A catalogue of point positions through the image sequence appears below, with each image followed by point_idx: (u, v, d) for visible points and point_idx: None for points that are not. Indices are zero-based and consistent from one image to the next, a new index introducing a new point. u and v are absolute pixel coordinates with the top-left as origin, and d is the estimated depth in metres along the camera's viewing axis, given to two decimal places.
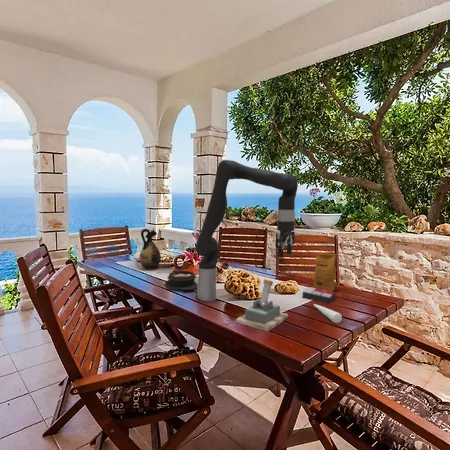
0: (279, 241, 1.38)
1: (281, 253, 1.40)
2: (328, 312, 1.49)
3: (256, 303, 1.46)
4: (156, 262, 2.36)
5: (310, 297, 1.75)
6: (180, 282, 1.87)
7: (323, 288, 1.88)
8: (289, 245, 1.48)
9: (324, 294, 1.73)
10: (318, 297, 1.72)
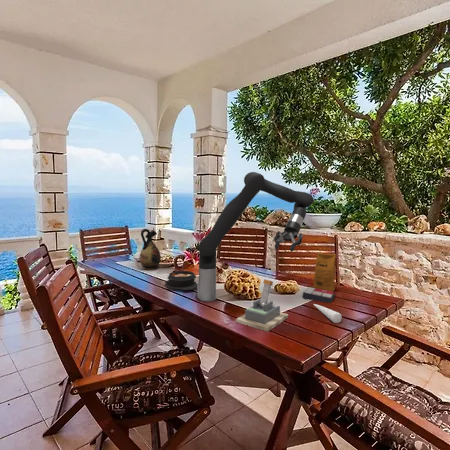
0: (301, 239, 1.62)
1: None
2: (328, 312, 1.49)
3: (256, 303, 1.46)
4: (156, 262, 2.36)
5: (311, 297, 1.74)
6: (180, 282, 1.87)
7: (323, 288, 1.88)
8: (279, 242, 1.67)
9: (324, 294, 1.73)
10: (319, 297, 1.72)
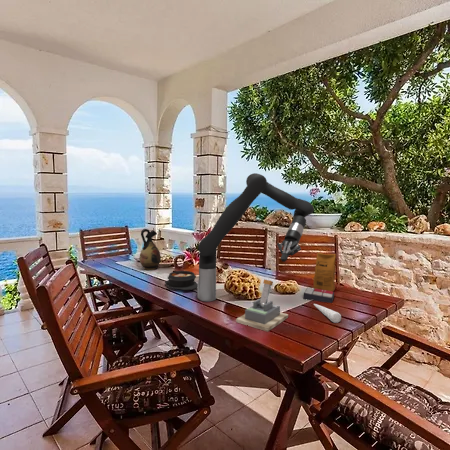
0: (296, 252, 1.61)
1: None
2: (327, 312, 1.49)
3: (256, 303, 1.46)
4: (156, 262, 2.36)
5: (311, 298, 1.74)
6: (180, 282, 1.87)
7: (323, 288, 1.88)
8: (285, 253, 1.62)
9: (325, 294, 1.73)
10: (320, 297, 1.72)
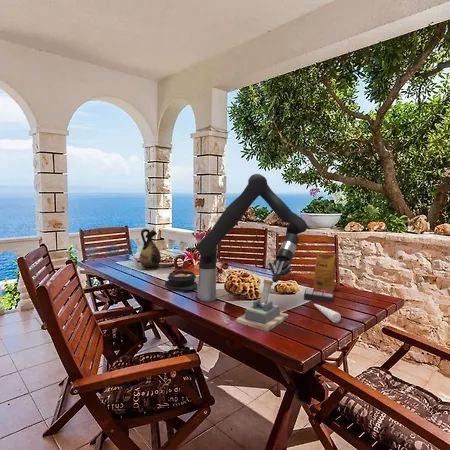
0: (288, 272, 1.54)
1: None
2: (327, 311, 1.49)
3: (256, 303, 1.46)
4: (156, 262, 2.36)
5: (312, 298, 1.73)
6: (180, 282, 1.87)
7: (323, 288, 1.88)
8: None
9: (325, 294, 1.73)
10: (321, 297, 1.72)
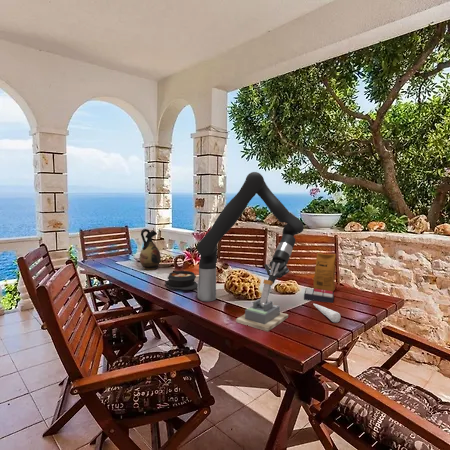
0: (284, 274, 1.51)
1: None
2: (327, 311, 1.49)
3: (256, 303, 1.46)
4: (156, 262, 2.36)
5: (312, 298, 1.73)
6: (180, 282, 1.87)
7: (323, 288, 1.88)
8: None
9: (326, 294, 1.73)
10: (321, 298, 1.72)
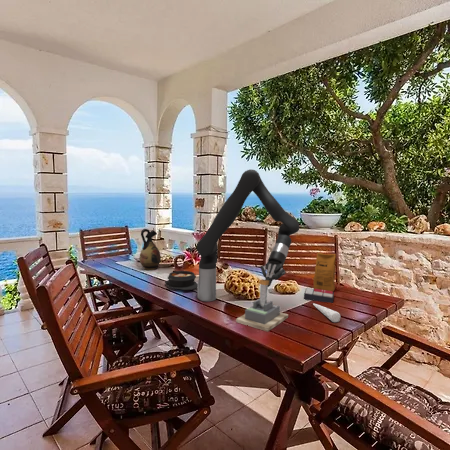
0: (280, 276, 1.48)
1: None
2: (327, 311, 1.49)
3: (256, 303, 1.46)
4: (156, 262, 2.36)
5: (312, 298, 1.73)
6: (180, 282, 1.87)
7: (323, 288, 1.88)
8: None
9: (325, 294, 1.73)
10: (320, 297, 1.72)
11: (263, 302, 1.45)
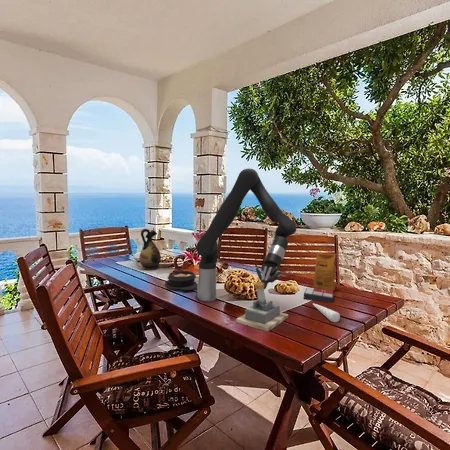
0: (276, 278, 1.45)
1: None
2: (326, 311, 1.49)
3: (256, 303, 1.46)
4: (156, 262, 2.36)
5: (312, 298, 1.73)
6: (180, 282, 1.87)
7: (323, 288, 1.88)
8: None
9: (325, 294, 1.73)
10: (320, 297, 1.72)
11: (262, 303, 1.45)
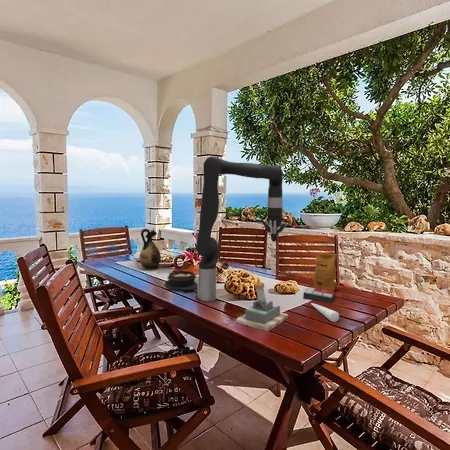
0: (283, 228, 1.60)
1: None
2: (325, 311, 1.50)
3: (256, 303, 1.46)
4: (156, 262, 2.36)
5: (311, 297, 1.74)
6: (180, 282, 1.87)
7: (323, 288, 1.88)
8: None
9: (325, 294, 1.73)
10: (319, 297, 1.72)
11: (262, 303, 1.45)
